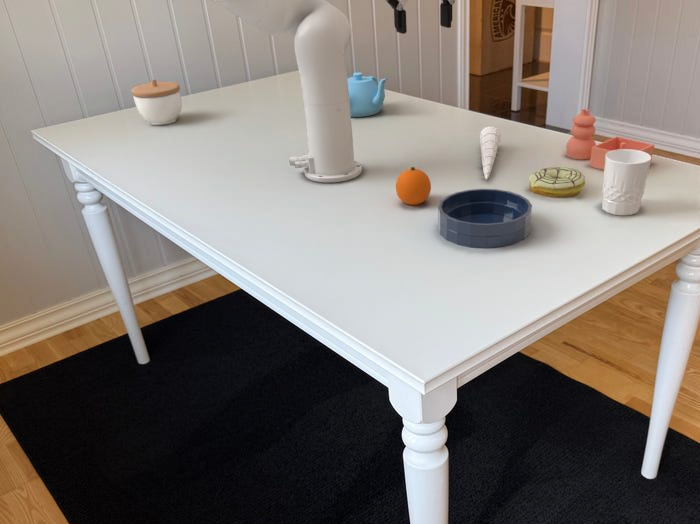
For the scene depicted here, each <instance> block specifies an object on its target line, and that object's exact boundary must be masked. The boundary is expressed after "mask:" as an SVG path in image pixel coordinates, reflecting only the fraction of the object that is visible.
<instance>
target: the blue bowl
mask: <svg viewBox="0 0 700 524" xmlns="http://www.w3.org/2000/svg"><path fill="white" fill-rule="evenodd" d="M532 210H533V204H532V203H531V202H530V200H529V199H528V198H526V197H525V196H523V195H521V194H519V193H516V192H513V191H509V190H503V189H498V188H474V189H465V190H462V191H456V192H454V193H451V194H449V195H446V196H445V197H444V198H442V199H441V200H440V201H439V203H438V205H437V230H438V232H439V235H440V236H441V237H442V238H443V239H445V240H446V241H448V242H451V243H453V244H455V245H457V246H463V247H468V248H475V249H477V248H479V249H492V248H502V247H507V246H512V245H514V244H517V243H519V242H521V241H523V240H525V239H526V238H527V237H528V236H529V235H530V234H531V226H532V225H531V224H532Z"/></svg>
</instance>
